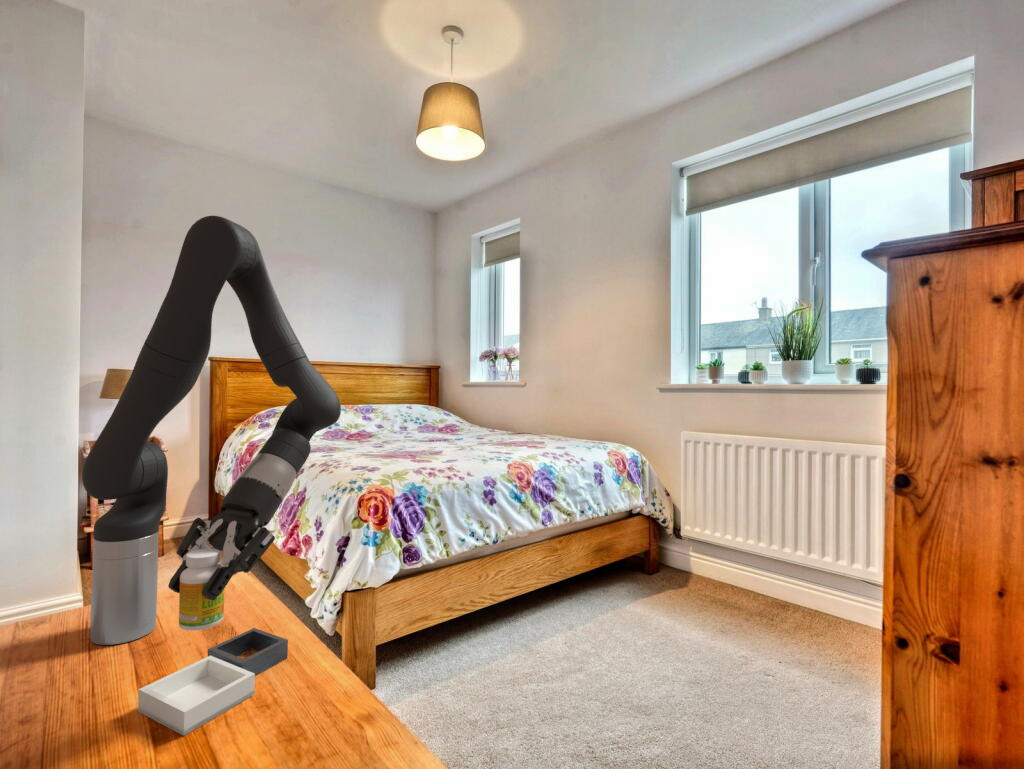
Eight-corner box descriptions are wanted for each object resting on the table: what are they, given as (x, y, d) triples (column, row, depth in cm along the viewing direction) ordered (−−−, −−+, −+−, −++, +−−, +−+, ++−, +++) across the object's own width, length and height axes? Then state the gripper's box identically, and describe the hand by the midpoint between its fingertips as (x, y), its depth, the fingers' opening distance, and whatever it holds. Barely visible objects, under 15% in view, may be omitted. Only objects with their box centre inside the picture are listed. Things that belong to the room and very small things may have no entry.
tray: (138, 711, 70) (138, 689, 70) (209, 675, 79) (210, 655, 79) (183, 736, 65) (184, 712, 65) (254, 694, 74) (254, 673, 74)
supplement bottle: (203, 634, 69) (204, 561, 69) (168, 629, 70) (170, 557, 70) (232, 616, 74) (234, 548, 74) (200, 612, 76) (201, 545, 75)
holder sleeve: (207, 668, 81) (207, 649, 81) (253, 645, 88) (254, 627, 88) (242, 683, 77) (242, 663, 77) (287, 658, 84) (287, 639, 84)
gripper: (211, 471, 82) (133, 573, 70) (286, 479, 77) (215, 590, 66) (238, 498, 87) (169, 597, 75) (309, 507, 82) (247, 614, 71)
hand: (190, 593), depth 71 cm, fingers closed on supplement bottle, 5 cm apart
